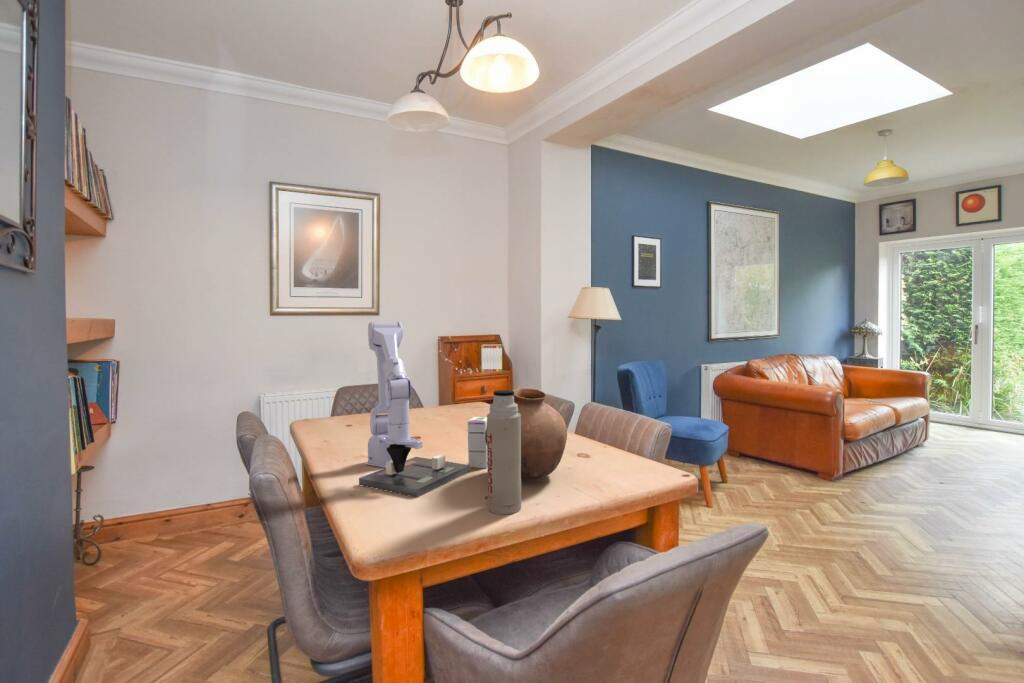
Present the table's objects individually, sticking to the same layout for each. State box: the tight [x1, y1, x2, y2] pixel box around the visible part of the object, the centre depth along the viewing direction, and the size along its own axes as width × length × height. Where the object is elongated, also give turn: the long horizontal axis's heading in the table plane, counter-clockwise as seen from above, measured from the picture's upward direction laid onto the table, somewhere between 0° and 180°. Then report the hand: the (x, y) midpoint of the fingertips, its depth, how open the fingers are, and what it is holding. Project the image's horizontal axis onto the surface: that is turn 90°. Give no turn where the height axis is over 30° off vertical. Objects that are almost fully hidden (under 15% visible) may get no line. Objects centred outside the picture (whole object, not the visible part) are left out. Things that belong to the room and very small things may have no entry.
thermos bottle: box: [486, 389, 522, 515], centre depth 120 cm, size 8×8×28 cm
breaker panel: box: [358, 456, 471, 498], centre depth 144 cm, size 20×24×2 cm
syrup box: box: [467, 416, 487, 469], centre depth 156 cm, size 6×6×14 cm
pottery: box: [485, 387, 568, 481], centre depth 143 cm, size 23×23×25 cm
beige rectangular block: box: [386, 461, 396, 475], centre depth 141 cm, size 2×4×3 cm, turn 151°
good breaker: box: [431, 454, 446, 469], centre depth 146 cm, size 2×4×3 cm, turn 151°
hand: (399, 471), depth 140 cm, fingers closed
